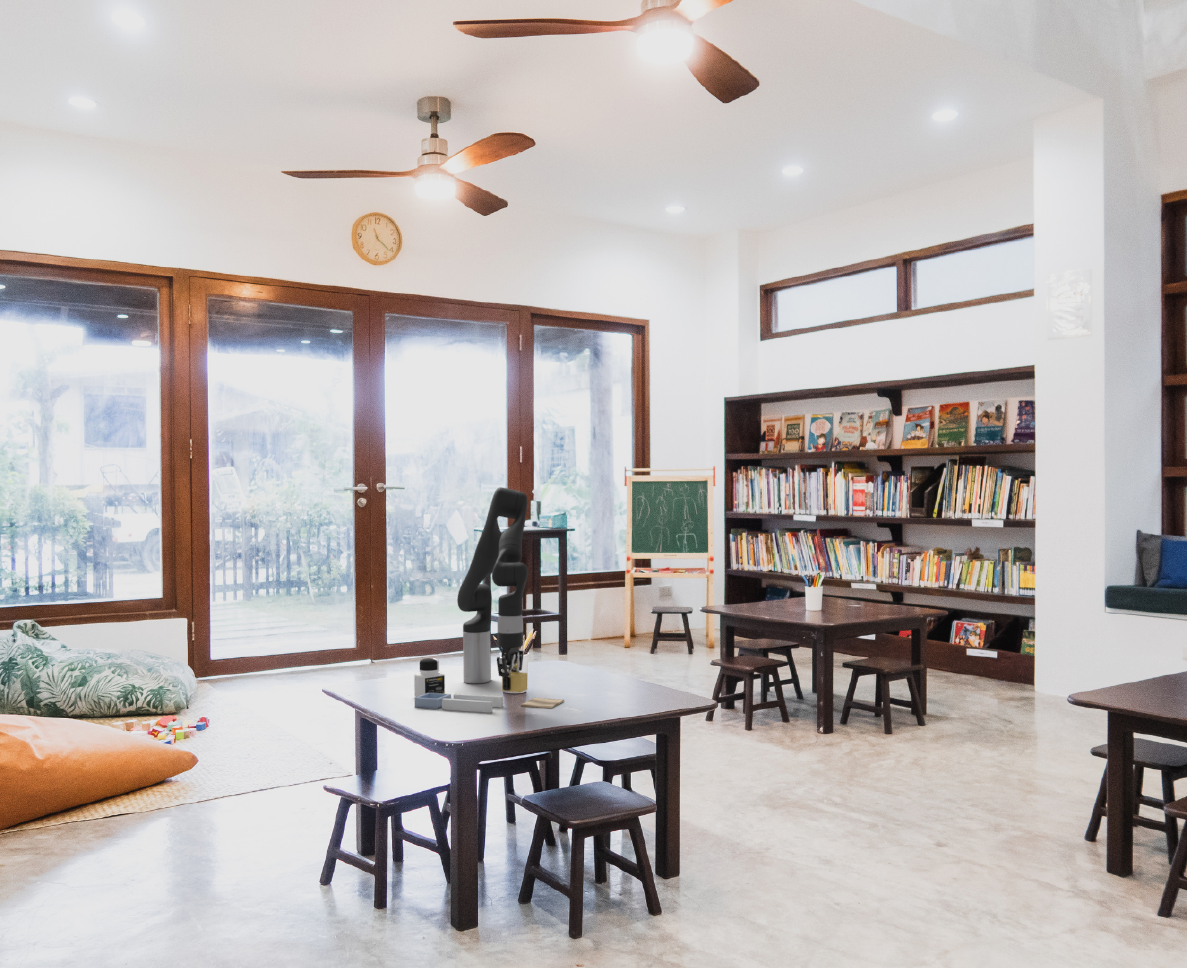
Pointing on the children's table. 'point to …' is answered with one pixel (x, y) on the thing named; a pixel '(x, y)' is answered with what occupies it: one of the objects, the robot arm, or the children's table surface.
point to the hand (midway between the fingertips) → (510, 688)
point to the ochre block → (517, 682)
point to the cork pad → (542, 703)
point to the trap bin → (431, 700)
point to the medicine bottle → (429, 678)
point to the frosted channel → (472, 703)
